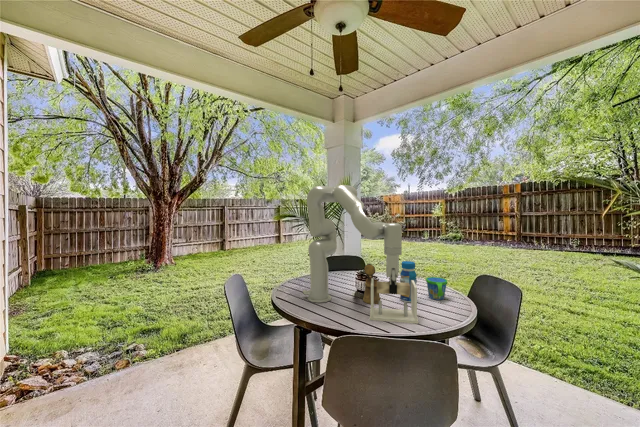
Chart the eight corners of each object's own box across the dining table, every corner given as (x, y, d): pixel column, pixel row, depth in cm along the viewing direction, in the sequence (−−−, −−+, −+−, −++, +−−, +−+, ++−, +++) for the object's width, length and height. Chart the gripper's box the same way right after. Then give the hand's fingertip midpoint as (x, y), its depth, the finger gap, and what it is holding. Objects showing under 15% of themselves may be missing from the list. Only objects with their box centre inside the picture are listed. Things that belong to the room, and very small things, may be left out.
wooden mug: (377, 295, 155) (377, 263, 154) (382, 304, 141) (382, 268, 141) (361, 295, 155) (361, 263, 155) (364, 304, 141) (364, 268, 141)
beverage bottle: (417, 303, 142) (418, 264, 142) (400, 302, 144) (400, 263, 143) (415, 298, 150) (415, 260, 150) (399, 297, 152) (399, 260, 152)
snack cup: (449, 304, 141) (450, 283, 141) (427, 302, 144) (427, 282, 144) (444, 294, 156) (444, 276, 156) (424, 293, 159) (424, 275, 159)
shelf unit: (369, 320, 122) (369, 285, 121) (370, 310, 133) (370, 278, 133) (418, 323, 118) (418, 287, 117) (414, 313, 129) (414, 280, 129)
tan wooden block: (376, 293, 124) (376, 284, 124) (376, 289, 129) (376, 281, 129) (409, 295, 121) (410, 286, 121) (408, 291, 126) (408, 282, 126)
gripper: (383, 248, 134) (383, 285, 134) (384, 253, 117) (384, 297, 118) (400, 248, 132) (400, 286, 133) (403, 254, 116) (403, 298, 116)
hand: (392, 291), depth 125 cm, fingers closed on tan wooden block, 5 cm apart
